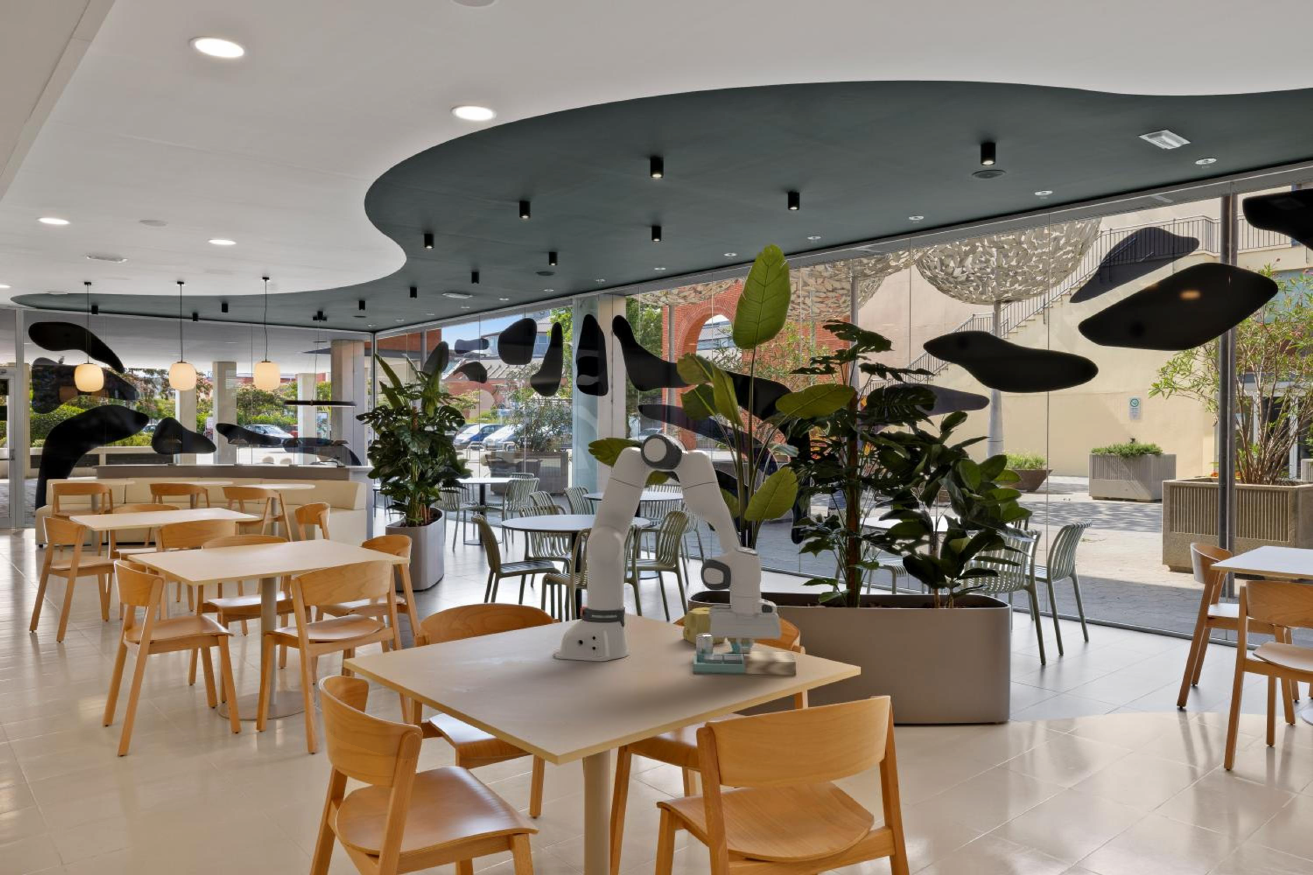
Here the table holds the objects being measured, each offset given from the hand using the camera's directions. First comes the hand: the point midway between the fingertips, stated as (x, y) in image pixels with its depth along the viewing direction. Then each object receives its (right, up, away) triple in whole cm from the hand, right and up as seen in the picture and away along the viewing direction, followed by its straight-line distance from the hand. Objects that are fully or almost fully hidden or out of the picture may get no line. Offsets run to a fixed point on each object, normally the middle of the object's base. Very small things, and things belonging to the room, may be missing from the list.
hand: (745, 653), depth 258 cm
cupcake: (+1, -5, +20) cm, 20 cm away
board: (+7, -4, 0) cm, 8 cm away
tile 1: (-9, -1, 0) cm, 9 cm away
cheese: (-10, -5, +36) cm, 37 cm away
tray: (-7, -4, 0) cm, 9 cm away
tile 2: (-4, -4, 0) cm, 5 cm away
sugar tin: (-11, -4, +12) cm, 16 cm away
